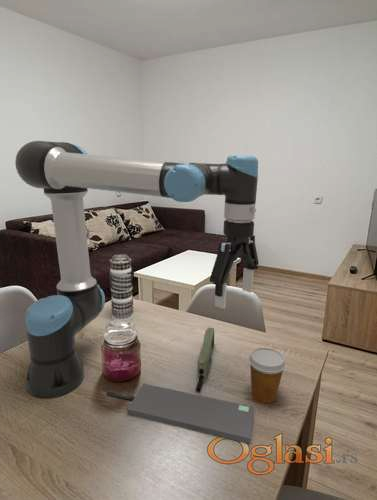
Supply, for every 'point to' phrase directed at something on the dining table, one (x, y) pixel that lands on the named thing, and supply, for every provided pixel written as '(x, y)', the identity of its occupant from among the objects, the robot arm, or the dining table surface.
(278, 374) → the disposable coffee cup
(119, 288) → the decorative candle
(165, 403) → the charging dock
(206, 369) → the handheld radio
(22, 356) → the dining table surface
